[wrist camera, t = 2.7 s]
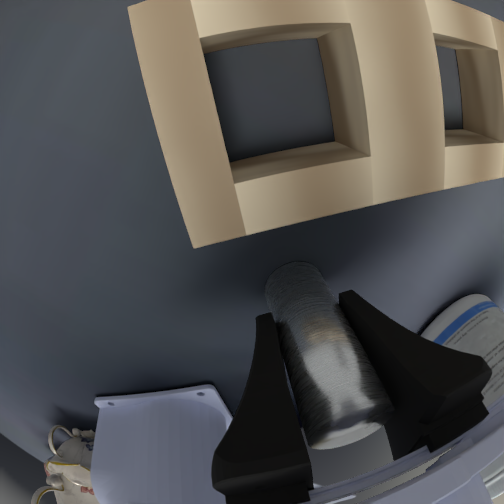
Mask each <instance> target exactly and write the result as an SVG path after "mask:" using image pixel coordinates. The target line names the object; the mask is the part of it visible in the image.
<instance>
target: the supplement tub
mask: <svg viewBox="0 0 504 504" xmlns="http://www.w3.org/2000/svg"><path fill="white" fill-rule="evenodd" d="M421 337H423V338H426V339H428V340H430V341H433V342H435V343H438V344H440V345H443V346H445V347H448V348H451V349H455V350H458V351H461V352H465V353H470V354H474V355H479V356H481V357H482V358H483V359H484V360H485V361H486V363H487V364H488V365H489V367H490V368H491V370H492V376H491V378H490V380H489V381H488V383H487V384H486V386H485V387H484V389H483V390H482V392H481V393H482V395H483V396H484V400H483V401H482V402H483V404H484V405H485V407H488V406H489V405H490V404H492V403H493V402H494V401H496V400H497V399H498V398H500V397H501V396H502V395H503V394H504V313H503V312H502V311H501V310H500V308H499V307H498V306H497V305H496V304H495V303H494V302H493V301H491V300H490V299H489V298H488V297H487V296H485V295H482V294H472V295H468V296H465V297H463V298H461V299H459V300H458V301H456V302H454V303H453V304H452V305H450V306H449V307H448V308H446V309H445V310H444V311H443V312H442V313H441V314H440V315H438V316H437V317H436V318H435V320H434V321H433V322H432V323H431V324H430V325H429V326H428V327H427V328H426V329H425V331H424V332H423V333H422V335H421ZM455 446H456V445H455ZM455 446H454V447H455ZM454 447H452V448H454ZM452 448H451V449H452ZM479 473H480V475H481V477H482V479H483V482H484V484H485V486H486V488H487V490H488V493H489V495H490V497H491V499H494V498H495V497H497V496H499V495H501V494H503V493H504V453H503V454H502V455H500V456H499V457H498V458H497V459H496V460H494V461H493V462H492V463H491V464H489V465H488V466H487V467H486V468H484V469H483V470H482V471H480V472H479Z"/></svg>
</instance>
